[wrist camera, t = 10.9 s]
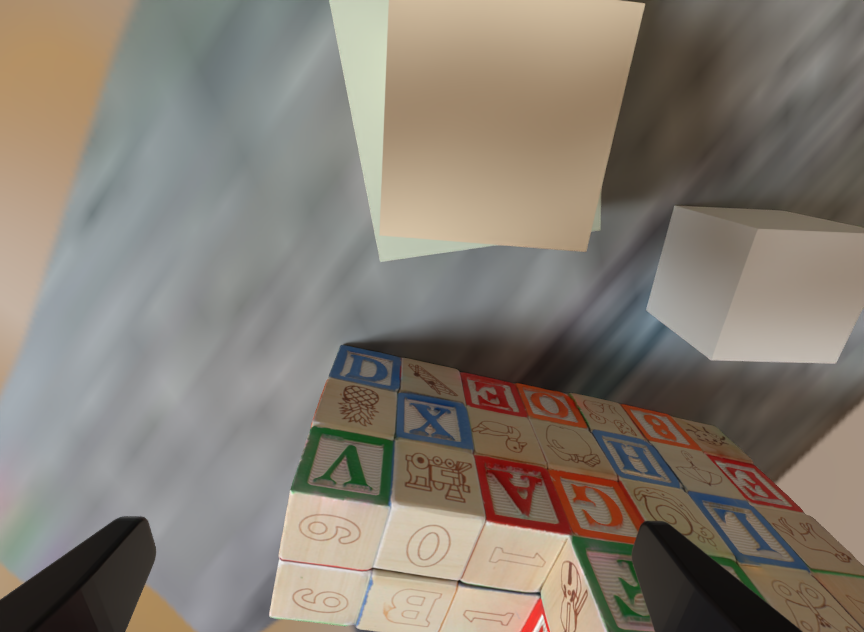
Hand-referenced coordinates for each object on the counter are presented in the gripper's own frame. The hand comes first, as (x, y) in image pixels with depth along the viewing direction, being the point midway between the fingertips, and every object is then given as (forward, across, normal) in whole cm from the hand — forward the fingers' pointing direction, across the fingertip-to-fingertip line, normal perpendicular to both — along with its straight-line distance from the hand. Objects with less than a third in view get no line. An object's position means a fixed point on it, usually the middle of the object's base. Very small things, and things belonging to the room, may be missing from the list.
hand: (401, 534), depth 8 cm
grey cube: (+13, -14, -2) cm, 19 cm away
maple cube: (+9, -2, -7) cm, 12 cm away
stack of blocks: (+13, -6, +8) cm, 17 cm away
